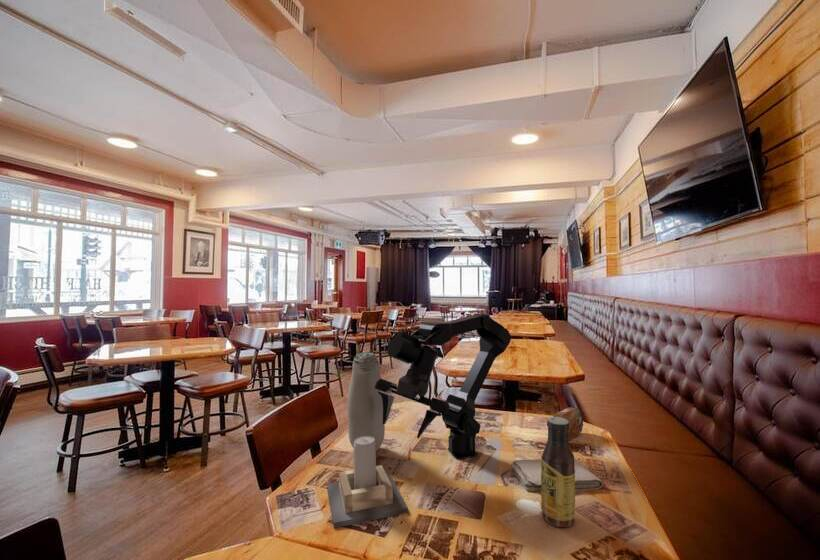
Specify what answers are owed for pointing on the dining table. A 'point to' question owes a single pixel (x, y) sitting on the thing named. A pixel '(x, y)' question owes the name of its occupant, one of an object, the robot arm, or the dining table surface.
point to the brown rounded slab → (572, 421)
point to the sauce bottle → (558, 475)
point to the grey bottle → (365, 400)
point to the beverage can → (364, 462)
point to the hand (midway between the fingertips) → (400, 431)
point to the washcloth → (531, 475)
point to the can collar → (364, 499)
